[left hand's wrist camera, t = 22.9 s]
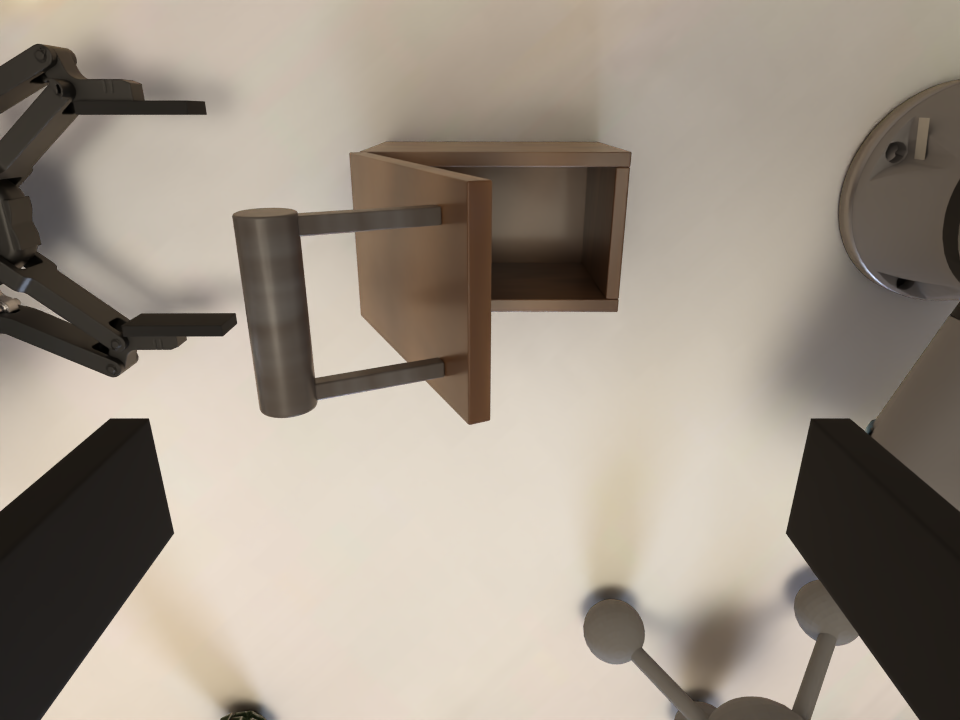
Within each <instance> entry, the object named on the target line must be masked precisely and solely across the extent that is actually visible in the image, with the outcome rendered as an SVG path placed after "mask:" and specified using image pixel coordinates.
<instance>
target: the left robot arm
mask: <svg viewBox="0 0 960 720" xmlns="http://www.w3.org/2000/svg"><path fill="white" fill-rule="evenodd" d="M839 226H840V232H841V237H842V240H843V244H844V246H845V249H846V251H847V253H848V255H849V257H850V258H851V260H852V262H853V263H854V264H855V266H856V267H857V268H858V269H859V270H860V271H861V272H862V273H863V274H864V275H865V276H866V277H867V278H869V279H870V280H871V281H873V282H875V283H876V284H878V285H880V286H882V287H884V288H886V289H889V290H891V291H893V292H895V293H897V294H900V295H903V296H906V297H910V298H915V299H922V300H960V80H954V81H950V82H946V83H942V84H939V85H937V86H934V87H931V88H929V89H927V90H925V91H923V92H921V93H918V94H917V95H915V96H913V97H912V98H910V99H908V100H907V101H905V102H904V103H902V104H901V105H900V106H898V107H897V108H896V109H894V110H893V111H892V112H891V113H890V114H888V115H887V116H886V117H885V118H884V119H883V120H882V121H881V122H880V123H879V124H878V125H877V126H876V127H875V129H874V130H873V131H872V132H871V133H870V134H869V136H868V137H867V138H866V140H865V141H864V142H863V144H862V145H861V147H860V149H859V150H858V152H857V153H856V155H855V157H854V159H853V161H852V163H851V165H850V167H849V170H848V172H847V175H846V178H845V181H844V184H843V188H842V192H841V197H840V204H839ZM950 315H951V316H950ZM950 315H949V317H948V318H947V320H946V321H945V322H944V324H943V325H942V327H941V328H940V329H939V331H938V332H937V334H936V335H935V337H934V338H933V339H932V341H931V342H930V344H929V345H928V346H927V348H926V349H925V351H924V352H923V353H922V355H921V356H920V358H919V359H918V361H917V362H916V363H915V365H914V366H913V368H912V369H911V370H910V372H909V373H908V375H907V376H906V378H905V379H904V380H903V382H902V383H901V385H900V386H899V387H898V389H897V390H896V392H895V393H894V394H893V396H892V397H891V399H890V400H889V402H888V403H887V404H886V406H885V407H884V409H883V410H882V411H881V413H880V414H879V416H878V417H877V418H876V419H875V420H872V421H871V422H870V423H869V425H868V426H867V427H866V430H865V431H864V430H863V429H862V428H860V427H859V426H858V425H857V424H856V423H854V422H853V421H852V420H851V419H811V421H810V426H809V430H808V435H807V440H806V444H805V449H804V453H803V458H802V462H801V467H800V472H799V476H798V481H797V485H796V490H795V494H794V499H793V504H792V508H791V513H790V517H789V522H788V526H787V531H786V534H787V535H788V537H789V538H790V540H791V541H792V542H793V544H794V545H795V547H796V548H797V549H798V551H799V552H800V554H801V555H802V556H803V558H804V559H805V561H806V562H807V563H808V565H809V566H810V568H811V569H812V570H813V572H814V573H815V575H816V576H817V577H818V579H819V580H820V582H821V583H822V584H823V586H824V587H825V589H826V590H827V591H828V593H829V594H830V596H831V597H832V598H833V600H834V601H835V603H836V604H837V605H838V607H839V608H840V610H841V611H842V612H843V614H844V615H845V617H846V618H847V619H848V621H849V622H850V624H851V625H852V626H853V628H854V629H855V630H856V632H857V633H858V635H859V636H860V637H861V639H862V640H863V642H864V643H865V644H866V646H867V647H868V649H869V650H870V651H871V653H872V654H873V656H874V657H875V658H876V660H877V661H878V663H879V664H880V665H881V667H882V668H883V670H884V671H885V672H886V674H887V675H888V677H889V678H890V679H891V681H892V682H893V684H894V685H895V686H896V688H897V689H898V691H899V692H900V693H901V695H902V696H903V698H904V699H905V700H906V702H907V703H908V705H909V706H910V707H911V709H912V710H913V712H914V713H915V714H916V716H917V717H918V719H919V720H960V302H959V303H958V305H957V306H956V308H955V309H954V311H953V312H952V313H951V314H950ZM173 534H174V531H173V526H172V522H171V517H170V513H169V508H168V504H167V499H166V494H165V490H164V485H163V481H162V476H161V472H160V467H159V462H158V458H157V453H156V449H155V444H154V440H153V435H152V430H151V426H150V421H149V419H109V420H108V421H107V422H106V423H104V424H103V425H102V426H101V427H100V428H98V429H97V430H96V431H95V432H94V433H93V434H91V435H90V436H89V437H88V438H87V439H85V440H84V441H83V442H82V443H81V444H80V445H78V446H77V447H76V448H75V449H74V450H72V451H71V452H70V453H69V454H68V455H67V456H65V457H64V458H63V459H62V460H61V461H59V462H58V463H57V464H56V465H55V466H54V467H52V468H51V469H50V470H49V471H48V472H46V473H45V474H44V475H43V476H42V477H41V478H39V479H38V480H37V481H36V482H35V483H33V484H32V485H31V486H30V487H29V488H28V489H26V490H25V491H24V492H23V493H22V494H20V495H19V496H18V497H17V498H16V499H15V500H13V501H12V502H11V503H10V504H9V505H7V506H6V507H5V508H4V509H3V510H2V511H0V720H41V719H42V717H43V716H44V714H45V713H46V712H47V710H48V709H49V707H50V706H51V705H52V703H53V702H54V700H55V699H56V698H57V696H58V695H59V693H60V692H61V691H62V689H63V688H64V686H65V685H66V684H67V682H68V681H69V679H70V678H71V677H72V675H73V674H74V672H75V671H76V670H77V668H78V667H79V665H80V664H81V663H82V661H83V660H84V658H85V657H86V656H87V654H88V653H89V651H90V650H91V649H92V647H93V646H94V644H95V643H96V642H97V640H98V639H99V637H100V636H101V635H102V633H103V632H104V630H105V629H106V628H107V626H108V625H109V624H110V622H111V621H112V619H113V618H114V617H115V615H116V614H117V612H118V611H119V610H120V608H121V607H122V605H123V604H124V603H125V601H126V600H127V598H128V597H129V596H130V594H131V593H132V591H133V590H134V589H135V587H136V586H137V584H138V583H139V582H140V580H141V579H142V577H143V576H144V575H145V573H146V572H147V570H148V569H149V568H150V566H151V565H152V563H153V562H154V561H155V559H156V558H157V556H158V555H159V554H160V552H161V551H162V549H163V548H164V547H165V545H166V544H167V542H168V541H169V540H170V538H171V537H172V535H173Z"/></svg>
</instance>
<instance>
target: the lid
mask: <svg viewBox="0 0 960 720" xmlns="http://www.w3.org/2000/svg"><path fill="white" fill-rule="evenodd" d="M349 155H350V169H351V182H352V196H353V210H341V211H326V212H311V213H297V211H295V210H292V209H286V208H259V209H249V210H243V211H238V212H236V213H234V214H233V216H232V217H233V224H234V231H235V238H236V245H237V252H238V259H239V266H240V273H241V280H242V287H243V294H244V301H245V308H246V315H247V322H248V329H249V336H250V343H251V350H252V357H253V364H254V371H255V378H256V385H257V392H258V399H259V406H260V410H261V412H262V413H263V414H264V415H266V416H269V417H275V418H288V417H295V416H299V415H302V414H305V413H307V412H309V411H311V410H312V409H314V408H315V407H316V405H317V400H322V399H327V398H332V397H338V396H343V395H349V394H354V393H360V392H365V391H371V390H376V389H381V388H387V387H392V386H398V385H403V384H409V383H414V382H419V381H426V382H427V383H428V384H429V385H430V386H431V387H432V388H433V389H434V390H435V391H436V392H437V393H438V394H439V395H440V396H441V397H442V398H443V399H444V400H445V401H446V402H447V403H448V404H449V405H450V406H451V407H452V408H453V409H454V410H455V411H456V412H457V413H458V414H459V415H460V416H461V417H462V418H463V419H464V420H465V421H466V422H467V423H468V424H469V425H471V424H476V423H480V422H485V421H489V420H490V378H491V262H492V180H489V179H485V178H480V177H476V176H471V175H467V174H462V173H458V172H453V171H448V170H444V169H439V168H435V167H430V166H426V165H421V164H417V163H412V162H408V161H403V160H399V159H394V158H390V157H385V156H381V155H376V154H372V153H367V152H351V153H350V154H349ZM348 232H355V238H356V252H357V266H358V280H359V294H360V308H361V316H362V317H363V318H364V319H365V320H366V321H367V322H368V323H369V324H370V325H371V326H372V327H373V328H374V329H375V330H376V331H377V332H378V333H379V334H380V335H381V336H382V337H383V338H384V339H385V340H386V341H387V342H388V343H389V344H390V345H391V346H392V347H393V348H394V349H395V350H396V351H397V352H398V353H399V354H400V355H401V356H402V357H403V358H404V359H405V360H406V361H407V363H401V364H396V365H390V366H384V367H378V368H372V369H366V370H360V371H354V372H348V373H343V374H337V375H331V376H325V377H319V378H315V373H314V364H313V354H312V345H311V335H310V325H309V316H308V306H307V297H306V287H305V278H304V268H303V258H302V249H301V239H300V236H311V235H323V234H336V233H348Z"/></svg>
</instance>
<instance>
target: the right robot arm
mask: <svg viewBox="0 0 960 720" xmlns="http://www.w3.org/2000/svg"><path fill="white" fill-rule="evenodd" d="M76 64H77V59H76V56H75V54H74V53H73V52H72V51H71V50H69V49H67V48H61V47H55V46H49V45H42V44H36V45H33V46H32V47H30V48H28V49H27V50H25V51H24V52H22V53H21V54H19V55H17V56H16V57H14V58H13V59H11V60H9V61H8V62H6V63H5V64H3V65H1V66H0V114H1V113H2V112H4V111H6V110H7V109H9V108H11V107H12V106H14V105H15V104H17V103H19V102H20V101H22V100H24V99H25V98H27V97H28V96H30V95H32V94H33V93H35V92H37V91H38V90H40V89H41V88H43V87H45V86H46V85H48V86H47V87H46V88H45V89H44V91H43V92H42V93H41V94H40V95H39V96H38V98H37V99H36V100H35V101H34V102H33V103H32V105H31V106H30V107H29V108H28V109H27V110H26V111H25V113H24V114H23V115H22V116H21V117H20V118H19V120H18V121H17V122H16V123H15V124H14V125H13V126H12V128H11V129H10V130H9V131H8V132H7V133H6V135H5V136H4V137H3V138H2V139H1V140H0V285H2V284H5V285H6V286H8V287H9V288H11V289H12V290H14V291H17V292H24V293H26V294H28V295H30V296H31V297H33V298H34V299H36V300H37V301H39V302H40V303H42V304H43V305H45V306H46V307H47V308H49V309H50V310H52V311H53V312H55V313H56V314H58V315H59V316H61V317H62V318H64V319H65V320H67V321H68V322H66V321H64V320H62V319H59V318H57V317H54V316H52V315H50V314H47V313H45V312H43V311H40V310H37V309H35V308H31V307H27V306H21V305H20V304H21V303H20V301H19V299H17V298H14V299H13V298H11V297H8V296H5V295H4V294H3V293H2V292H1V291H0V333H2V334H7V335H10V336H12V337H15V338H17V339H20V340H22V341H24V342H27V343H29V344H32V345H34V346H37V347H39V348H41V349H44V350H46V351H49V352H51V353H54V354H56V355H59V356H61V357H63V358H66V359H68V360H71V361H73V362H76V363H78V364H80V365H83V366H85V367H88V368H90V369H93V370H95V371H98V372H100V373H102V374H105V375H107V376H110V377H117V376H119V375H120V374H122V373H123V372H124V371H126V370H127V369H128V368H130V367H131V366H132V365H134V364H135V363H136V362H137V361H138V354H137V350H156V349H157V350H162V349H163V350H171V349H174V348H176V347H178V346H180V345H181V344H182V343H184V342H185V341H186V340H187V338H186V336H224V335H225V334H226V333H227V332H228V331H229V330H230V329H232V328H233V327H234V326H235V325H236V324H237V319H236V313H178V314H140V315H138V316H137V317H135V318H133V319H132V320H129V319H128V318H126V317H125V316H123V315H122V314H120V313H119V312H117V311H116V310H114V309H113V308H112V307H110V306H109V305H107V304H106V303H104V302H103V301H101V300H100V299H98V298H97V297H96V296H94V295H93V294H91V293H90V292H88V291H87V290H85V289H84V288H82V287H81V286H79V285H78V284H77V283H75V282H74V281H72V280H71V279H69V278H68V277H66V276H65V275H63V274H62V273H61V272H59V271H58V270H57V266H56V265H55V264H54V263H53V262H51V261H50V260H49V259H47V258H46V257H44V256H43V255H41V254H40V253H38V252H37V246H38V245H41V241H40V237H39V233H38V231H37V229H36V227H35V225H34V223H33V221H32V205H31V201H30V197H29V196H25V195H24V194H23V192H22V191H21V190H20V189H19V188H18V187H19V186H20V185H21V184H22V183H23V182H24V180H25V179H26V178H27V177H28V176H29V175H30V174H31V173H32V171H33V169H32V167H33V165H34V164H35V163H36V162H37V161H38V160H39V159H40V158H41V156H42V155H43V154H44V153H45V152H46V151H47V150H48V149H49V147H50V146H51V145H52V144H53V143H54V142H55V141H56V140H57V139H58V137H59V136H60V135H61V134H62V133H63V132H64V131H65V130H66V128H67V127H68V126H69V125H70V124H71V123H72V122H73V121H74V120H75V118H76V117H77V116H78V115H207V114H206V107H205V102H203V101H145V100H144V94H143V89H142V84H140V83H138V82H135V81H133V80H123V79H87V78H85V77H84V76H83V75H82V74H81V73H80V71H79V70H78V68H77V66H76ZM23 266H24V267H25V268H26V269H21V268H22V267H23ZM69 322H70V323H69Z"/></svg>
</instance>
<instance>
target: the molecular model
mask: <svg viewBox="0 0 960 720" xmlns="http://www.w3.org/2000/svg"><path fill="white" fill-rule="evenodd" d="M794 611H795V616H796V619H797V621H798V623H799V625H800V627H801V628H802V629H803V630H804V632H805V633H806V634H807V635H809V636H810V637H811V638H812V639H814V640H816V643H815V646H814V649H813V652H812V655H811V658H810V660H809V663H808V666H807V669H806V672H805V675H804V677H803V680H802V683H801V686H800V689H799V692H798V694H797V697H796V700H795V703H794V706H793V709H792V710H791V709H789V708H788V707H786V706H785V705H783V704H780V703H778V702H775V701H773V700H770V699H767V698H762V697H740V698H735V699H733V700H730V701H728V702H726V703H724V704H722V705H721V706H720V707H718V708H715V707H714V706H712V705H710V704H708V703H705V702H699V701H696V702H694V701H693V700H692V699H691V698H690V697H689V696H688V695H687V694H686V693H685V692H684V691H683V690H682V689H681V688H680V687H679V686H678V685H677V684H676V683H675V682H674V681H673V680H672V678H671V677H670V676H669V675H668V674H667V673H666V672H665V671H664V670H663V669H662V668H661V667H660V666H659V665H658V664H657V663H656V662H655V661H654V660H653V659H652V658H651V657H650V656H649V655H648V654H647V653H646V652H645V651H644V650H643V649H642V646H643V643H644V638H645V630H644V625H643V622H642V620H641V618H640V616H639V614H638V613H637V612H636V610H635V609H634V608H633V607H632V606H630V605H629V604H627V603H626V602H623V601H621V600H616V599H606V600H603V601H600V602H598V603H597V604H595V605H594V606H593V607H592V608H591V609H590V610H589V611H588V613H587V615H586V617H585V621H584V626H583V628H584V637H585V640H586V643H587V645H588V647H589V649H590V650H591V652H592V653H593V654H594V655H595V656H596V657H597V658H599V659H600V660H602V661H604V662H607V663H610V664H623V663H626V662H629V661H631V660H632V661H633V662H634V663H635V664H636V665H637V667H638V668H639V669H640V670H641V671H642V672H643V673H644V674H645V675H646V676H647V677H648V678H649V679H650V680H651V681H652V682H653V684H654V685H655V686H656V687H657V688H658V689H659V690H660V691H661V692H662V693H663V694H664V695H665V696H666V697H667V698H668V699H669V700H670V702H671V703H672V704H673V705H674V706H675V707H676V708H677V709H678V710H679V711H678V712H677V714H676V716H675V719H674V720H811V717H812V714H813V711H814V708H815V705H816V702H817V699H818V696H819V693H820V690H821V687H822V684H823V681H824V678H825V675H826V672H827V669H828V666H829V663H830V660H831V657H832V654H833V651H834V648H835V646H840V645H845V644H848V643H850V642H852V641H853V640H854V639H856V638H857V637H858V636H859V635H858V633H857V632H856V630H855V629H854V628H853V626H852V625H851V624H850V622H849V621H848V619H847V618H846V617H845V615H844V614H843V612H842V611H841V610H840V608H839V607H838V605H837V604H836V603H835V601H834V600H833V598H832V597H831V596H830V594H829V593H828V591H827V590H826V589H825V587H824V586H823V584H822V583H821V582H820V580H816V581H812V582H809V583H808V584H806V585H804V586H803V587H802V588H801V589H800V590H799V592H798V594H797V596H796V598H795V603H794Z"/></svg>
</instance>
